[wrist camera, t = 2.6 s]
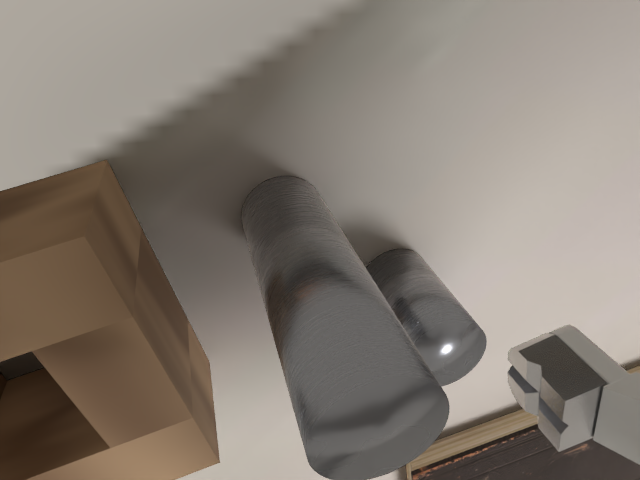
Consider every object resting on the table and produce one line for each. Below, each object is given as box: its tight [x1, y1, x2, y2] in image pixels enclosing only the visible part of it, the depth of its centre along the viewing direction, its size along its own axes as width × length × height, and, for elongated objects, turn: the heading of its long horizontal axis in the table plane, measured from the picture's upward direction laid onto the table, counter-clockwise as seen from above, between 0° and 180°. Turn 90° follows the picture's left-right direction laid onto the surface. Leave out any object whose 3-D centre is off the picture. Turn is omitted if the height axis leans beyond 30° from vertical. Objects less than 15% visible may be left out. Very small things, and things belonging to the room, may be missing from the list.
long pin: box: [241, 176, 449, 480], centre depth 14 cm, size 3×3×10 cm
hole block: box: [0, 160, 220, 480], centre depth 15 cm, size 10×10×5 cm
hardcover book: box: [406, 366, 640, 480], centre depth 34 cm, size 16×23×2 cm
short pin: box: [366, 249, 486, 386], centre depth 19 cm, size 3×3×5 cm
